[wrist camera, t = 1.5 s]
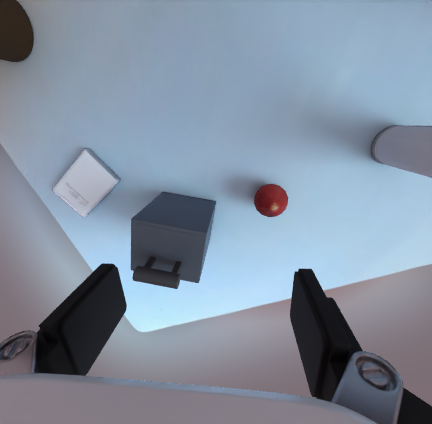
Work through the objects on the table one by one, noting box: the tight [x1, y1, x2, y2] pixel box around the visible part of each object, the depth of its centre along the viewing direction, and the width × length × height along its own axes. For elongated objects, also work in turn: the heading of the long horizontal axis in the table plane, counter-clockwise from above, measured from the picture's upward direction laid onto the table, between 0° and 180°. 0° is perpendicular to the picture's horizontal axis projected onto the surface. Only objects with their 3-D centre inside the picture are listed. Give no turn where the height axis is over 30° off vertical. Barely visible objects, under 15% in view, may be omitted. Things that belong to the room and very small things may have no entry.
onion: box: [254, 184, 288, 217], centre depth 38 cm, size 6×6×8 cm
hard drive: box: [53, 148, 120, 217], centre depth 44 cm, size 2×8×12 cm
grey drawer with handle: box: [131, 192, 216, 289], centre depth 36 cm, size 19×11×9 cm
